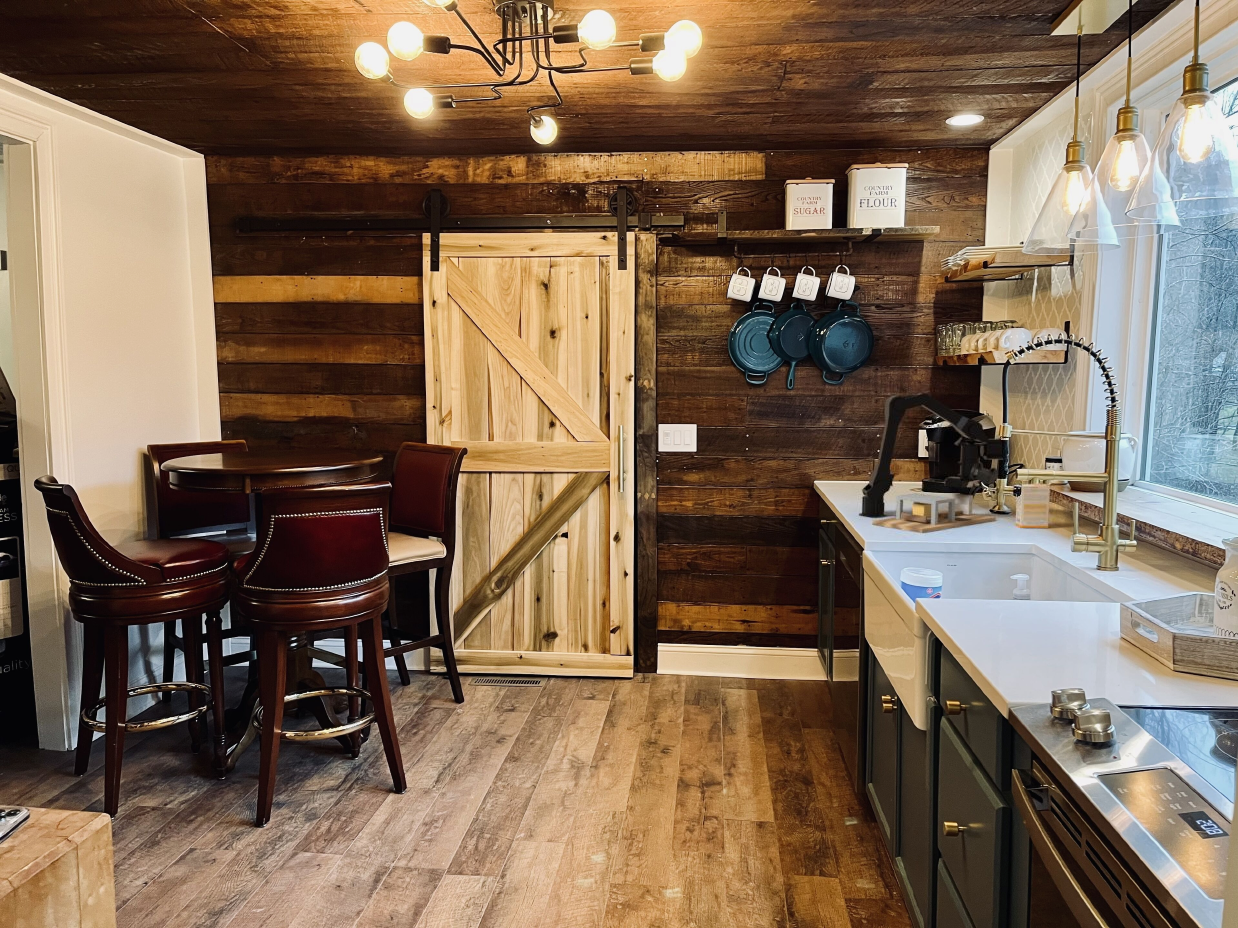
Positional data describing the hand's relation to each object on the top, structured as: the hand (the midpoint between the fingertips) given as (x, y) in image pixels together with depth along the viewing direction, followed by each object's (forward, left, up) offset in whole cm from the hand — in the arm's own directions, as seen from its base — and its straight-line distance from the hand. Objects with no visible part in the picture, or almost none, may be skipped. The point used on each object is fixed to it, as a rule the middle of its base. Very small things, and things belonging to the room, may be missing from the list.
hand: (968, 506), depth 282 cm
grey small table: (0, -23, -3) cm, 23 cm away
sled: (0, -16, -2) cm, 16 cm away
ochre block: (0, -24, -1) cm, 25 cm away
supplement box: (+22, -1, -4) cm, 22 cm away
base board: (0, -18, -3) cm, 18 cm away
